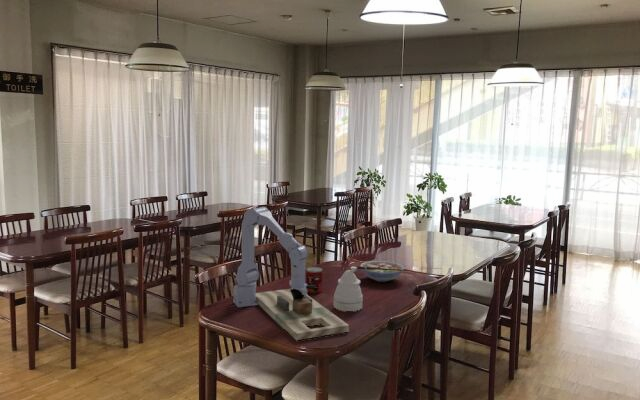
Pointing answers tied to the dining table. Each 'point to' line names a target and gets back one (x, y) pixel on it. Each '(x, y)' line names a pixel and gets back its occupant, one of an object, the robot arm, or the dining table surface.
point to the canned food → (314, 280)
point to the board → (294, 324)
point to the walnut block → (302, 306)
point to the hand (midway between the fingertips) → (297, 306)
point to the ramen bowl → (381, 270)
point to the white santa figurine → (348, 292)
